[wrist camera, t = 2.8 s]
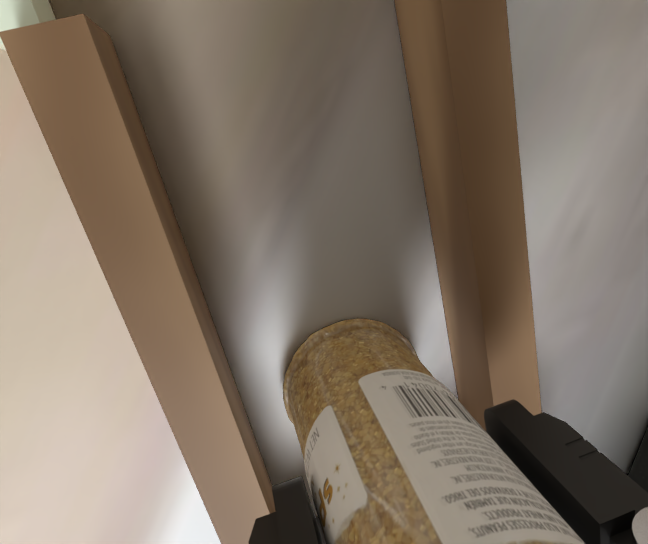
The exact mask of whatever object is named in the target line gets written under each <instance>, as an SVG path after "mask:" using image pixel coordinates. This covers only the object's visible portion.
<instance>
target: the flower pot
mask: <svg viewBox="0 0 648 544" xmlns="http://www.w3.org/2000/svg"><path fill="white" fill-rule="evenodd" d="M628 476H629V477H630V478H631V479H632V480H633V481H635V482H636V483H637V484H638V485H639V486H640V487H641V488H643V489H644V490H645V491H646V492H647V493H648V428H647V431H646V433H645V436H644V438H643V441H642V443H641V446H640V448H639V451H638V453H637V455H636V458H635V460H634V463H633V465H632V467H631V470H630V472H629V475H628Z"/></svg>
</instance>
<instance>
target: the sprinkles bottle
mask: <svg viewBox="0 0 648 544" xmlns="http://www.w3.org/2000/svg"><path fill="white" fill-rule="evenodd" d="M283 399H284V404H285V408H286V411H287V414H288V417H289V419H290V421H291V422H292V423H293V424H294V426H295V430H296V433H297V436H298V440H299V442H300V446H301V450H302V454H303V458H304V464H305V472H306V477H307V480H308V483H309V487H310V490H311V494H312V497H313V501H314V504H315V507H316V511H317V514H318V518H319V521H320V524H321V528H322V531H323V535H324V538H325V542H326V544H585V543H584V542H583V540H582V539H581V538H580V537H579V536H578V535H577V534H576V533H575V532H574V530H573V529H572V528H571V527H570V526H569V525H568V524H567V523H566V522H565V520H564V519H563V518H562V517H561V516H560V515H559V514H558V513H557V512H556V510H555V509H554V508H553V507H552V506H551V505H550V504H549V503H548V501H547V500H546V499H545V498H544V497H543V496H542V495H541V493H540V492H539V491H538V490H537V489H536V488H535V487H534V486H533V484H532V483H531V482H530V481H529V480H528V479H527V478H526V477H525V475H524V474H523V473H522V472H521V471H520V470H519V469H518V467H517V466H516V465H515V464H514V463H513V462H512V461H511V460H510V458H509V457H508V456H507V455H506V454H505V453H504V452H503V451H502V449H501V448H500V447H499V446H498V445H497V444H496V443H495V441H494V440H493V439H492V438H491V437H490V436H489V435H488V433H487V432H486V431H485V430H484V429H483V428H482V427H481V426H480V424H479V423H478V422H477V421H476V420H475V419H474V418H473V417H472V415H471V414H470V413H469V412H468V411H467V410H466V409H465V408H464V406H463V405H462V404H461V403H460V402H459V401H458V400H457V398H456V397H455V396H454V395H453V394H452V393H451V392H450V391H449V389H448V388H446V387H445V386H444V385H443V384H442V383H441V382H439V381H438V380H436V379H435V378H434V377H433V376H432V375H431V373H430V372H429V371H428V370H427V369H426V368H425V366H424V365H423V364H422V363H421V362H420V360H419V358H418V356H417V354H416V352H415V350H414V348H413V347H412V345H411V344H410V342H409V341H408V340H407V339H406V338H405V337H404V336H402V334H401V333H400V332H399V331H397V330H396V329H394V328H392V327H390V326H389V325H387V324H385V323H382V322H379V321H374V320H369V319H359V318H357V319H349V320H344V321H340V322H337V323H334V324H332V325H330V326H327V327H324V328H323V329H321V330H319V331H317V332H315V333H313V334H311V335H310V336H309V337H308V339H307V340H306V341H305V342H304V343H303V344H302V345H301V346H300V347H299V348H298V350H297V351H296V353H295V354H294V356H293V358H292V361H291V363H290V364H289V367H288V369H287V371H286V374H285V379H284V384H283Z"/></svg>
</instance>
